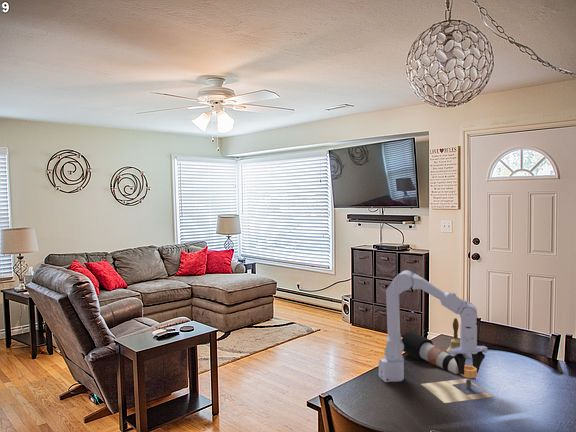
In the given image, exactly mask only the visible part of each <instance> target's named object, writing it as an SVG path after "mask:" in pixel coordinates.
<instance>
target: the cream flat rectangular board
mask: <svg viewBox="0 0 576 432" xmlns="http://www.w3.org/2000/svg"><path fill="white" fill-rule="evenodd" d="M462 384H465V389H466V390H471V389H472V385H473V386H475V387H476V388H478V389H479V390H481V391H483V392H481V393H480V392H479V393H471V394H465V393H464V392H463V391H462V390H460V389H458V388H457V387H456V386H455V385H462ZM420 385H421V386H423V388H425V389H426V390H427V391H429V392H430V393H431V394H433V395H434V396H435V397H436V398H437V399H438V400H440V401H441V402H442V403H443V404H449V403H457V402H463V401H465V402H466V401H471V400H479V399H486V398H495V396H494V395H493V394H492V393H490V392H488V391H487V390H486V389H484V388H482V387H480V385H478V384H476V383H475V382H473V381H472V380H470V379H469V378H460V379H451V380H444V381H436V382H435V381H434V382H427V383H421V384H420Z"/></svg>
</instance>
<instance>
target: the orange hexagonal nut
mask: <svg viewBox="0 0 576 432" xmlns="http://www.w3.org/2000/svg"><path fill="white" fill-rule="evenodd" d="M460 375H461V376H462V377H464V378H466V379H474V378H477V376H478V373H477V368H475V367H474V366H473V365H468V364H465V366H464V375H462V374H460Z"/></svg>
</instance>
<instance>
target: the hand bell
mask: <svg viewBox="0 0 576 432" xmlns="http://www.w3.org/2000/svg"><path fill="white" fill-rule="evenodd" d="M459 325H460V324H459V320H458V318H454V319H453V321H452V329H453V339H451V340H450V343H449V347H448V348H446V350H445V352H446V351H447V352H446V353H448V354H449V353H450V349H454V348H457V347H460V339H459V337H458V331H459V329H460V327H459Z"/></svg>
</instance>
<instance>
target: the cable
mask: <svg viewBox="0 0 576 432" xmlns="http://www.w3.org/2000/svg"><path fill="white" fill-rule="evenodd" d="M401 340H402V342H403V344H404V350H403V352H404V353H405V354H408V355H409V356H411V357H413V358H414V359H415V360H418V361H419V362H425V360H426V361H427V362H429V364H432V365H435V366H436V367H438V368H440V369H443V370H446V371H447V372H450V373H453V374H455V375H457V374H460V373H459V370H458V366H457V363H456V361H455V359H454V357H453V356H451V355H450V354H449V353H448V352H446V350H443V349H441V348H439V347H437V346H436V345H434V342H433V341H432V340H430V339H429V338H427V337H425V336H423V335H421V334H419V333H416V332H415V331H412V330H410V331H407V332H406V333H404V334H403V336H402V337H401Z"/></svg>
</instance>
